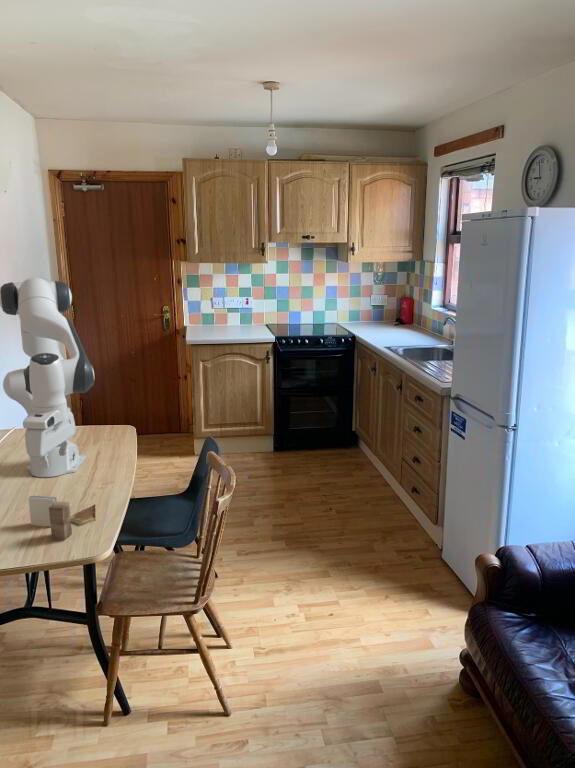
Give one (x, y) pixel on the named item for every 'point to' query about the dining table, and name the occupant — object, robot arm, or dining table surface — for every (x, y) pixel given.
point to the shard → (84, 516)
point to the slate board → (40, 509)
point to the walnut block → (60, 520)
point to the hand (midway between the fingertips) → (54, 460)
